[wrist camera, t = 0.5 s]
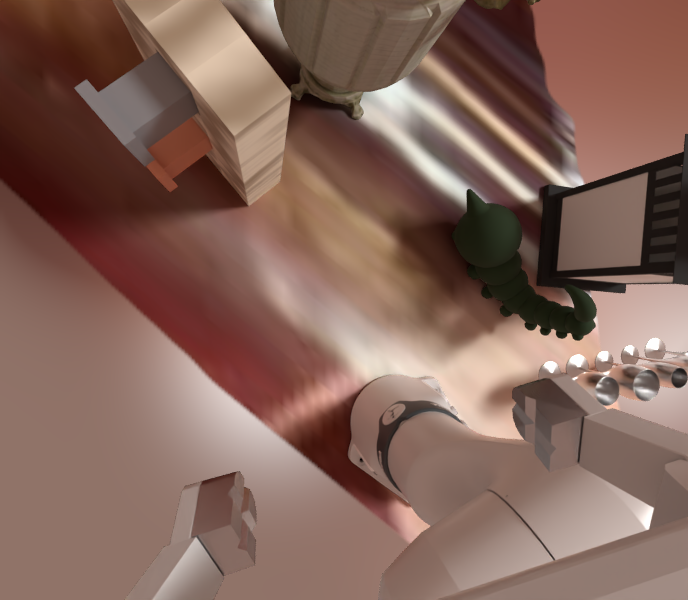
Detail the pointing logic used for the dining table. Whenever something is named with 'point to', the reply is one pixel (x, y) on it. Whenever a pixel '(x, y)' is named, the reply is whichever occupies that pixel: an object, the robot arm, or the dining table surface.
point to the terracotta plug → (178, 152)
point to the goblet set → (626, 373)
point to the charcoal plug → (142, 105)
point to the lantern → (618, 229)
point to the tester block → (219, 85)
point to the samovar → (361, 42)
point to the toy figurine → (514, 271)
